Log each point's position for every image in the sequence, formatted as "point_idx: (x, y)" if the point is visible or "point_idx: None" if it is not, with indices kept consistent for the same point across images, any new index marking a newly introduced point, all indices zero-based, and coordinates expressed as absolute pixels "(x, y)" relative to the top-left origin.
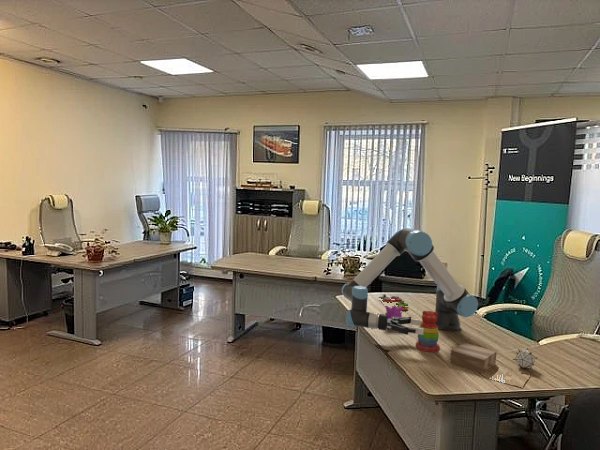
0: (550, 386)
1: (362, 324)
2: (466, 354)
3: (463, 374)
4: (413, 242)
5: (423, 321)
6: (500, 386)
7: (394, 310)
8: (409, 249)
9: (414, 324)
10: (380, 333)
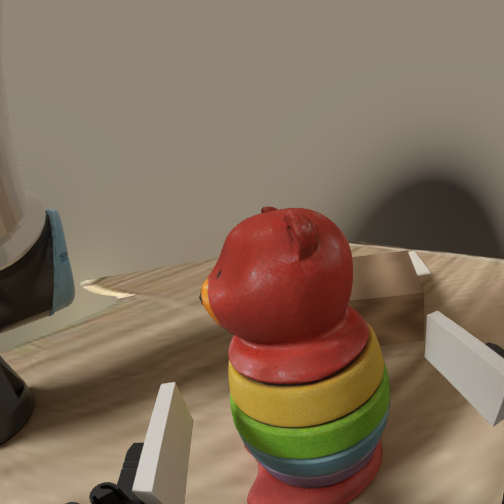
0: (362, 248)
1: None
2: (412, 269)
3: (463, 296)
4: None
5: (333, 318)
6: (442, 260)
7: None
8: None
9: (182, 490)
10: None
